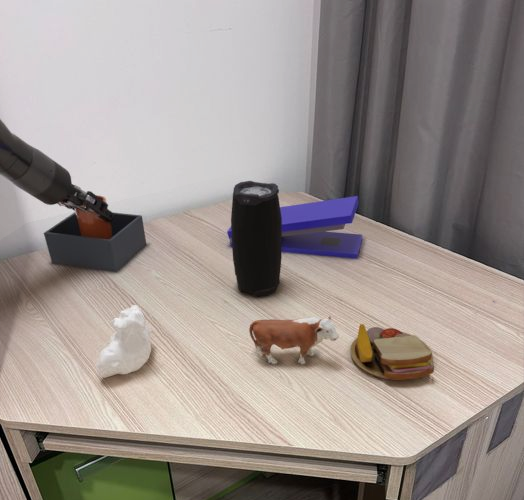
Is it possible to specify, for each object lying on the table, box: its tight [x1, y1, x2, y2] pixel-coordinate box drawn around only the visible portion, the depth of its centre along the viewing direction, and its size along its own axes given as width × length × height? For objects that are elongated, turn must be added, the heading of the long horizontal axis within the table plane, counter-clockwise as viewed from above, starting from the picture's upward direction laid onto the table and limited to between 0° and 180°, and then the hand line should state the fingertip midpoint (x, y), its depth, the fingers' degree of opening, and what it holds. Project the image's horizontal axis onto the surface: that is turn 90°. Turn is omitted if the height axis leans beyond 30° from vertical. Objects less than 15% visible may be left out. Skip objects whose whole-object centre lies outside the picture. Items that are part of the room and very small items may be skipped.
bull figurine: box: [248, 315, 340, 365], centre depth 82 cm, size 4×13×8 cm, turn 81°
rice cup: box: [74, 194, 113, 240], centre depth 111 cm, size 6×6×8 cm
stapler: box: [226, 195, 363, 260], centre depth 115 cm, size 12×28×10 cm, turn 76°
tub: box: [43, 211, 147, 273], centre depth 113 cm, size 15×13×7 cm
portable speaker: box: [230, 180, 283, 298], centre depth 97 cm, size 9×9×20 cm
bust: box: [96, 304, 153, 378], centre depth 81 cm, size 12×8×11 cm
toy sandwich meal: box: [349, 323, 435, 381], centre depth 82 cm, size 12×14×5 cm
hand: (98, 215), depth 112 cm, fingers closed on rice cup, 6 cm apart
